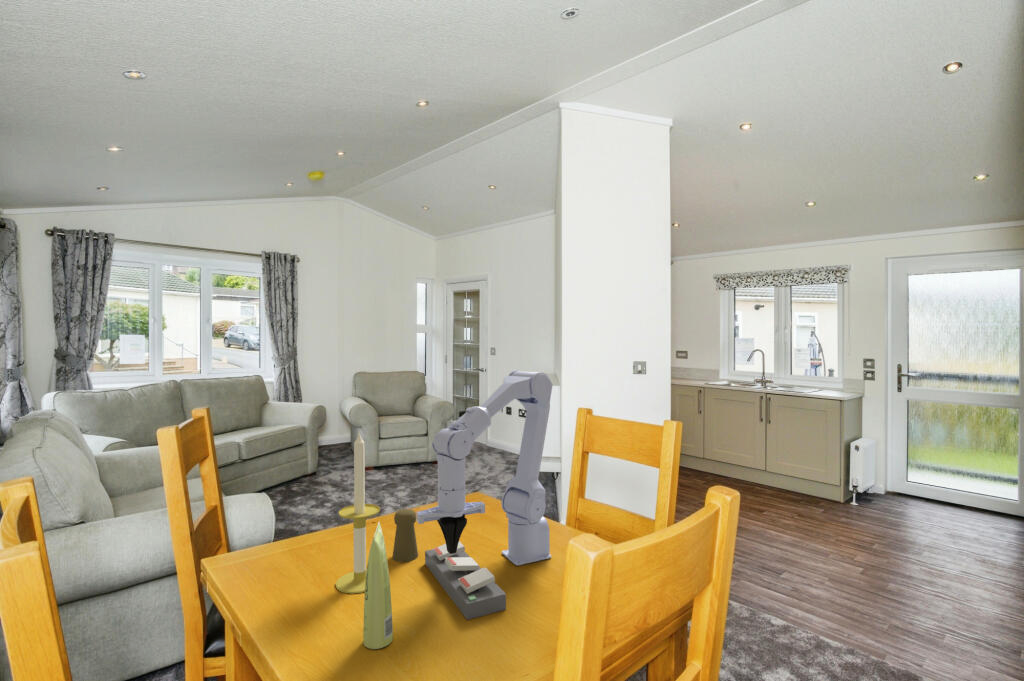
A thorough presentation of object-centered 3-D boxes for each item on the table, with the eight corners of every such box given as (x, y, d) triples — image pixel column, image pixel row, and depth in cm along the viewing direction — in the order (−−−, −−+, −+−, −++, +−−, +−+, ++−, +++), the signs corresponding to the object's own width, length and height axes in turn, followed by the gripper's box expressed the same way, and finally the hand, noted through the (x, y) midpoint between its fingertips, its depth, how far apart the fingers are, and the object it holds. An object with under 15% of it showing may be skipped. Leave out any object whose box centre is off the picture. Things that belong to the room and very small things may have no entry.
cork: (412, 563, 117) (412, 515, 117) (388, 560, 118) (387, 514, 118) (422, 552, 123) (421, 507, 123) (398, 550, 124) (398, 505, 124)
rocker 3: (486, 571, 103) (485, 566, 103) (495, 580, 99) (494, 575, 99) (458, 583, 100) (457, 578, 100) (467, 593, 96) (466, 588, 96)
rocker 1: (458, 543, 117) (457, 538, 117) (465, 550, 113) (464, 545, 113) (433, 553, 115) (432, 548, 115) (439, 560, 111) (439, 555, 111)
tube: (355, 641, 87) (354, 528, 87) (380, 628, 91) (379, 520, 91) (374, 654, 83) (373, 536, 83) (399, 640, 87) (399, 527, 87)
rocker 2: (470, 561, 110) (471, 556, 110) (478, 570, 106) (479, 564, 106) (444, 562, 107) (445, 556, 108) (451, 570, 104) (452, 565, 104)
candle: (393, 577, 110) (393, 428, 110) (360, 598, 101) (359, 436, 101) (359, 567, 115) (359, 424, 115) (324, 586, 106) (323, 432, 106)
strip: (457, 556, 120) (457, 541, 120) (505, 609, 97) (505, 590, 97) (425, 563, 117) (425, 547, 117) (467, 620, 93) (467, 600, 93)
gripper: (423, 497, 99) (423, 566, 99) (491, 487, 105) (491, 552, 106) (413, 487, 105) (413, 552, 105) (477, 478, 112) (477, 540, 112)
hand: (451, 551), depth 106 cm, fingers closed
